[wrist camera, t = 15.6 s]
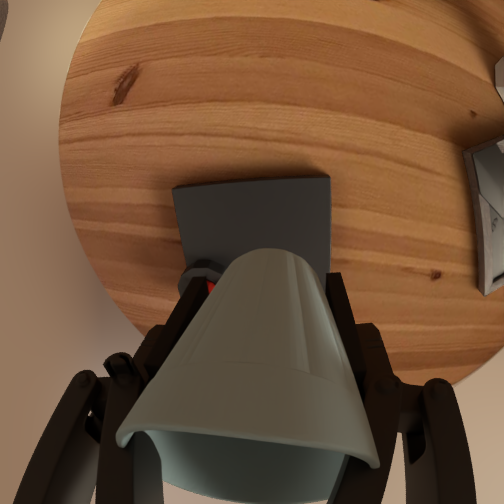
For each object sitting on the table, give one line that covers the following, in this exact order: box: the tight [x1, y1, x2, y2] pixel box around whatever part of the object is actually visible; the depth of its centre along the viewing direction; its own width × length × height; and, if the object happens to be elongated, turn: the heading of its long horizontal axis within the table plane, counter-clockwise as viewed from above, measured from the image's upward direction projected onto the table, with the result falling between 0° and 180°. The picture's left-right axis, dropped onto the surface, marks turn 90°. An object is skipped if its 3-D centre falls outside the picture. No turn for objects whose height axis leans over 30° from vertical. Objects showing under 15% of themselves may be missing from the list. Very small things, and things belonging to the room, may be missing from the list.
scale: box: [172, 175, 331, 297], centre depth 25 cm, size 15×13×3 cm
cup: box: [116, 248, 380, 504], centre depth 10 cm, size 8×8×10 cm
